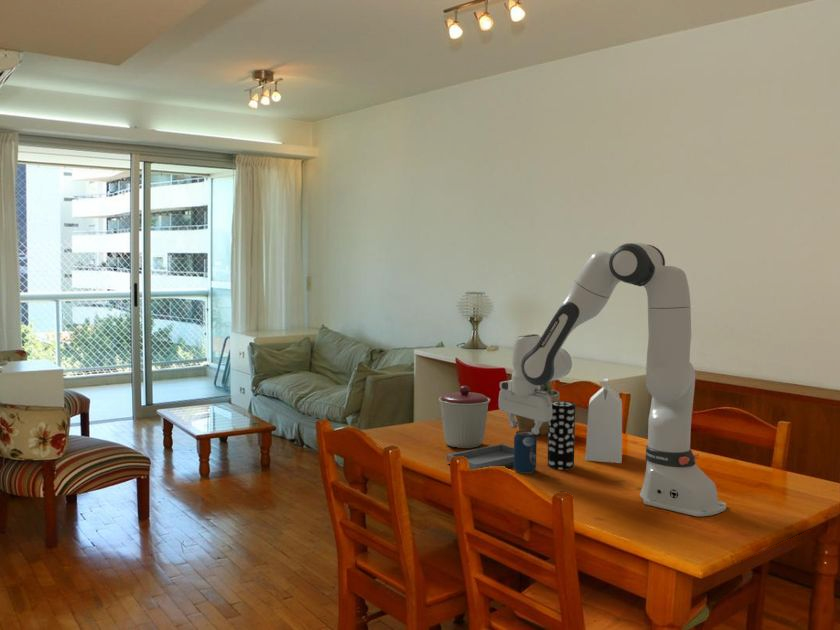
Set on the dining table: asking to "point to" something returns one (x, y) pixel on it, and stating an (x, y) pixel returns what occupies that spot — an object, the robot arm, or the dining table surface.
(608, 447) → the milk
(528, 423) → the potted plant
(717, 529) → the dining table surface
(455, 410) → the canister
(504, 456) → the tray
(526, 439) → the soda can
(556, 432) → the white-spotted black cylinder
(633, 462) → the dining table surface
